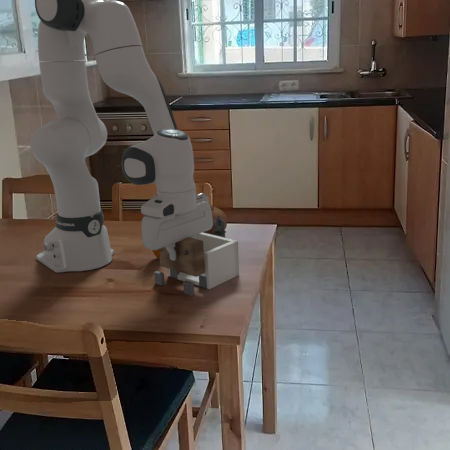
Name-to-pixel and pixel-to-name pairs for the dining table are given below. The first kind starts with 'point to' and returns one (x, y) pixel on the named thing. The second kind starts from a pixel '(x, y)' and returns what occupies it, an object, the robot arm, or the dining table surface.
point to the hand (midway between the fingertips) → (181, 256)
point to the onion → (215, 214)
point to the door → (185, 257)
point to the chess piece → (219, 227)
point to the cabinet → (209, 264)
